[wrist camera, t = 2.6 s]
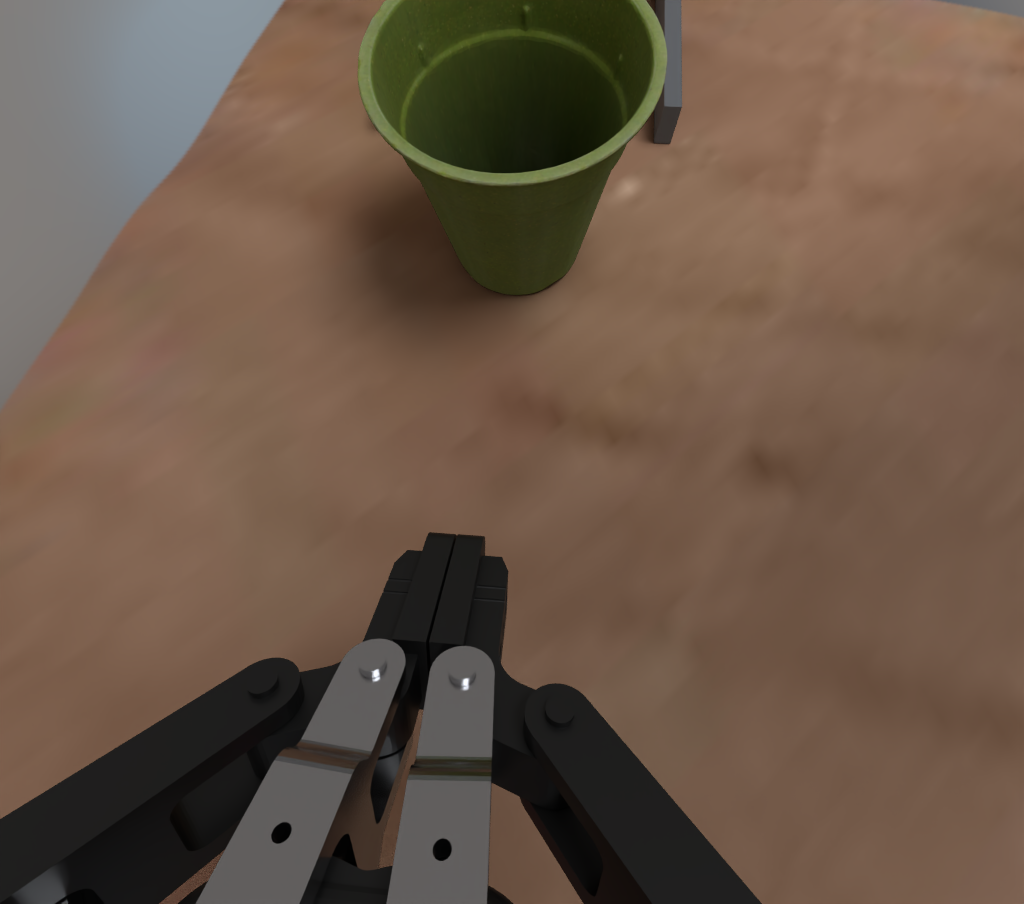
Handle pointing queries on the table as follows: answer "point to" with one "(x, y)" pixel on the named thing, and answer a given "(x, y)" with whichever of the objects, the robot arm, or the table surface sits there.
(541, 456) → the table surface
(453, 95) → the plant pot
